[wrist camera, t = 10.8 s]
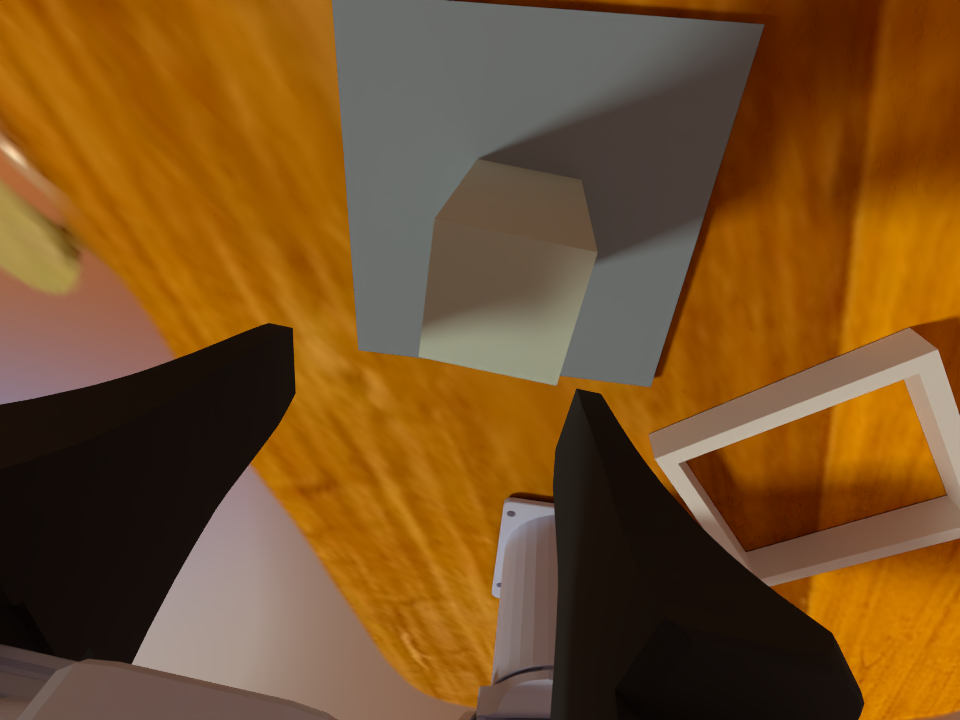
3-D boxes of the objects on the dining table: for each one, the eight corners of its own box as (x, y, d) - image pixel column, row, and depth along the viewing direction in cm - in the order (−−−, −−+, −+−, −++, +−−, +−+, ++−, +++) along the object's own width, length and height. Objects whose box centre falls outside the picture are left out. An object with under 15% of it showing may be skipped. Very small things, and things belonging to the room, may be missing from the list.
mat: (648, 379, 23) (650, 387, 23) (362, 343, 24) (358, 349, 24) (757, 25, 16) (764, 24, 15) (338, -7, 17) (331, -9, 16)
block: (581, 179, 18) (597, 252, 12) (555, 277, 21) (556, 385, 14) (477, 158, 19) (434, 219, 12) (462, 258, 21) (418, 357, 14)
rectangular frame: (969, 499, 25) (997, 528, 23) (737, 564, 29) (747, 592, 28) (909, 327, 20) (938, 349, 19) (648, 434, 25) (654, 459, 24)
